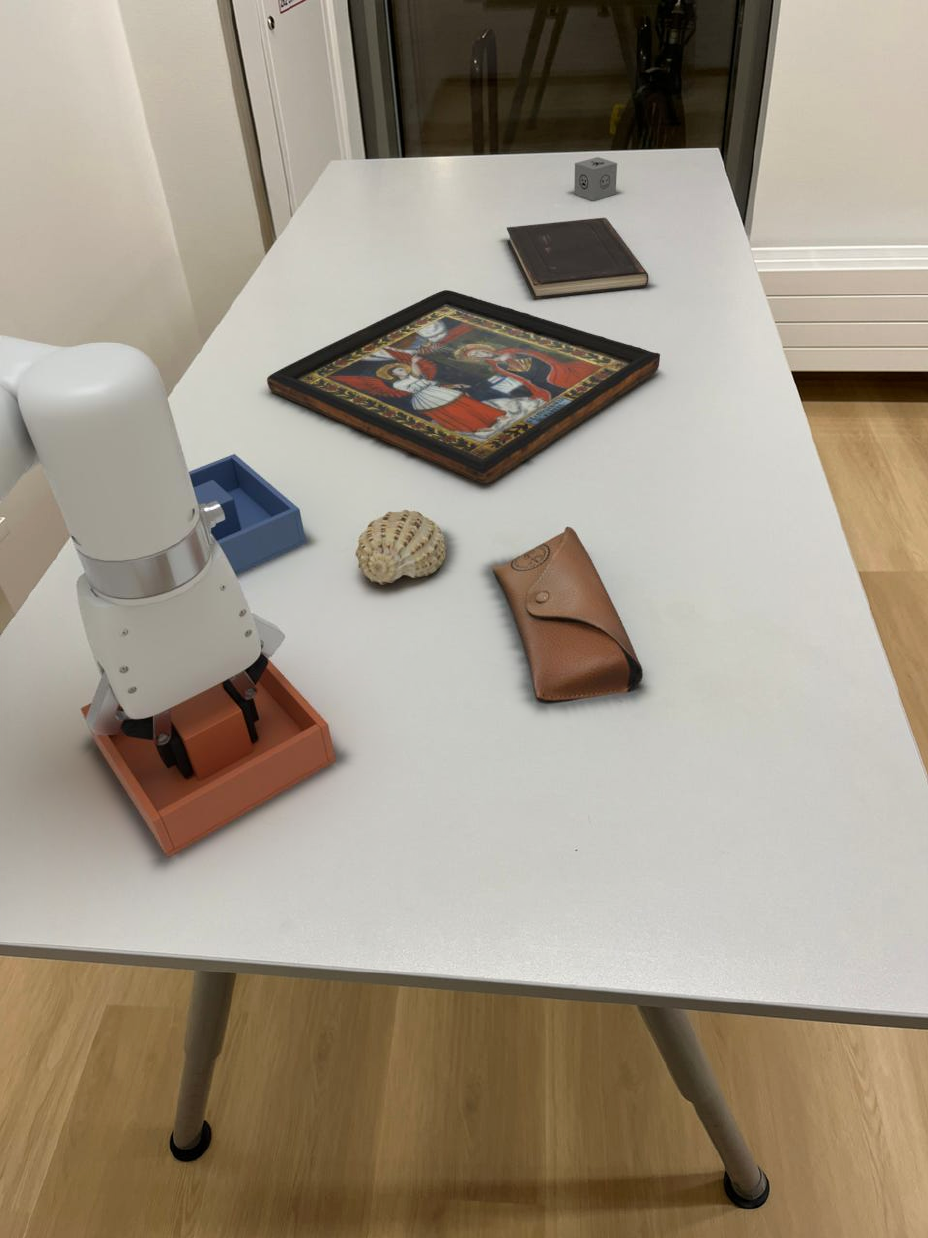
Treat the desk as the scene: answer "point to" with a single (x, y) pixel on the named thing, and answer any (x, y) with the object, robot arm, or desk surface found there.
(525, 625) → the sunglasses case
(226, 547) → the blue bin
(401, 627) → the desk surface
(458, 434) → the framed icon painting
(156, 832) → the terracotta bin
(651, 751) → the desk surface
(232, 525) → the blue block
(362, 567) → the seashell
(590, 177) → the dice cube
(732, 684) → the desk surface
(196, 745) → the terracotta block
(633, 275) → the hardcover book
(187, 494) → the robot arm
